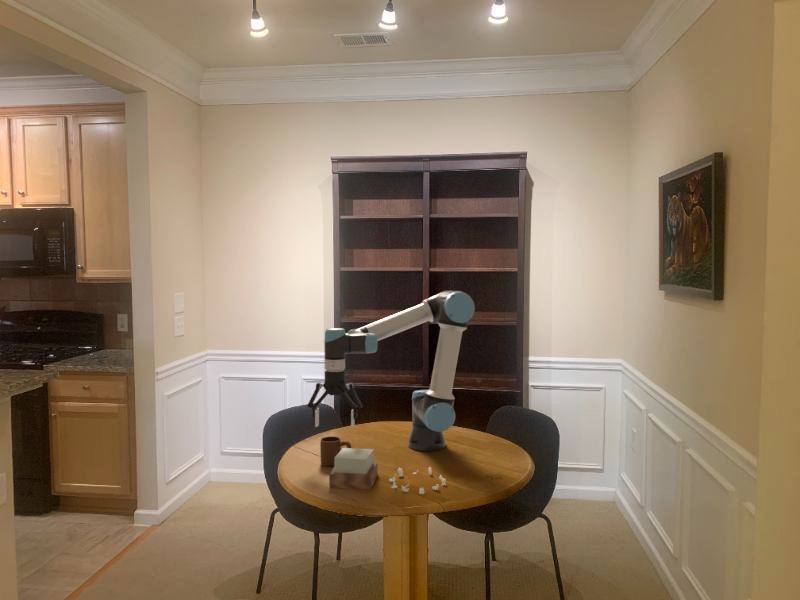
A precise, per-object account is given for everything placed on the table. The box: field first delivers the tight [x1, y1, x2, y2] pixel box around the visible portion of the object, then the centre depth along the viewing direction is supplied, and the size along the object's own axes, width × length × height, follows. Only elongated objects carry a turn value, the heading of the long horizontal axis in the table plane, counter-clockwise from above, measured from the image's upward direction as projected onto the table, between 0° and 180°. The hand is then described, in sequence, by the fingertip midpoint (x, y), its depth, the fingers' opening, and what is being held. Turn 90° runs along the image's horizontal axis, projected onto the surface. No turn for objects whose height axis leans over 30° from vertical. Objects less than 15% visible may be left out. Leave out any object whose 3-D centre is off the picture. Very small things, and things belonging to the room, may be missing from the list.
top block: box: [333, 447, 375, 474], centre depth 199 cm, size 11×11×5 cm
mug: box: [319, 436, 352, 468], centre depth 216 cm, size 12×8×9 cm, turn 73°
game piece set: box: [388, 466, 447, 495], centre depth 197 cm, size 19×20×4 cm
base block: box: [328, 461, 378, 490], centre depth 200 cm, size 14×14×5 cm
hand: (334, 426), depth 216 cm, fingers open, 13 cm apart
